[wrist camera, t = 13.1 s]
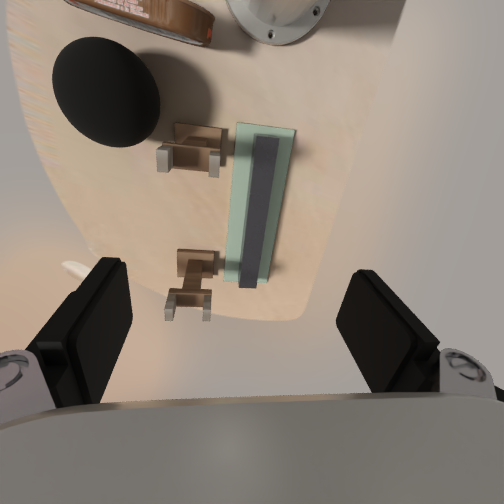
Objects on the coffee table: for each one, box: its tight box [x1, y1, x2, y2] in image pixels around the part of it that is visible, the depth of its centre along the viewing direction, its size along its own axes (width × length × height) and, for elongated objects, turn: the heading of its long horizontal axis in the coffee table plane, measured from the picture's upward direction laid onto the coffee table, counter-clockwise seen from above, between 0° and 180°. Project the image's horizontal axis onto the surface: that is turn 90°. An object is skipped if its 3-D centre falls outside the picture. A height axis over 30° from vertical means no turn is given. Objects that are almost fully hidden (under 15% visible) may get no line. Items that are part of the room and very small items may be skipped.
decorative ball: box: [52, 37, 160, 147], centre depth 28 cm, size 10×10×10 cm
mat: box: [223, 122, 295, 283], centre depth 41 cm, size 26×8×1 cm, turn 173°
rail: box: [238, 133, 280, 288], centre depth 40 cm, size 24×3×3 cm, turn 173°
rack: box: [156, 123, 222, 321], centre depth 35 cm, size 24×6×13 cm, turn 173°
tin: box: [64, 0, 215, 47], centre depth 25 cm, size 15×3×8 cm, turn 76°
